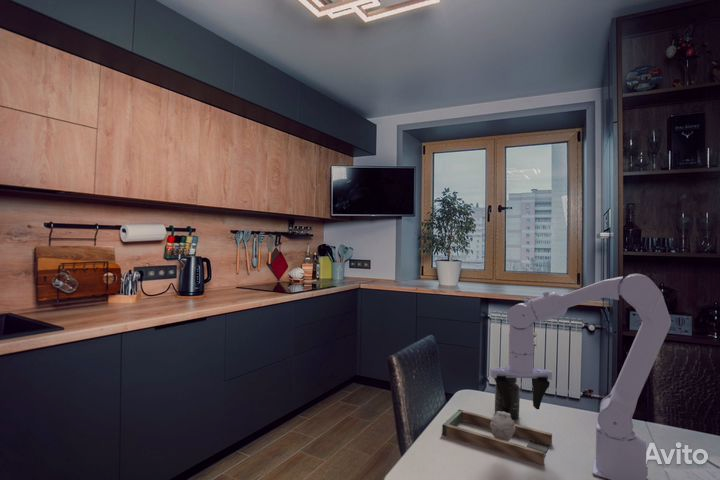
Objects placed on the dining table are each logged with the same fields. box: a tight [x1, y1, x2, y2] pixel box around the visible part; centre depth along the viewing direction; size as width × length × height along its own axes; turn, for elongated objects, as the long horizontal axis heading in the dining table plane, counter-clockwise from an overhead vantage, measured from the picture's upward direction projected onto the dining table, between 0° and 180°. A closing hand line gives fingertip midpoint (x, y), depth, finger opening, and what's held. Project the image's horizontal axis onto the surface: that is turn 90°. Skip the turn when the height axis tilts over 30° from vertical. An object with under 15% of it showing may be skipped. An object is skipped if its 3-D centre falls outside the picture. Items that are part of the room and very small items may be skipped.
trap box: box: [441, 409, 553, 466], centre depth 102 cm, size 24×12×2 cm, turn 56°
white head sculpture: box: [490, 411, 515, 442], centre depth 101 cm, size 6×7×7 cm
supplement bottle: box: [494, 378, 521, 421], centre depth 117 cm, size 7×7×12 cm
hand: (520, 407), depth 98 cm, fingers open, 7 cm apart
